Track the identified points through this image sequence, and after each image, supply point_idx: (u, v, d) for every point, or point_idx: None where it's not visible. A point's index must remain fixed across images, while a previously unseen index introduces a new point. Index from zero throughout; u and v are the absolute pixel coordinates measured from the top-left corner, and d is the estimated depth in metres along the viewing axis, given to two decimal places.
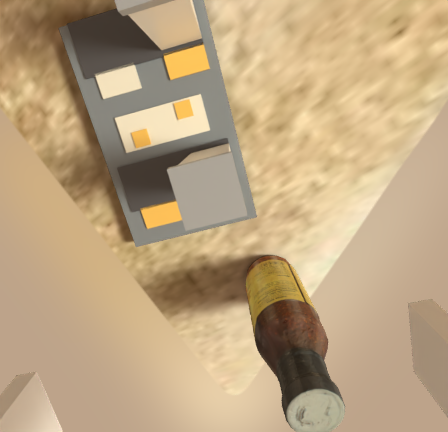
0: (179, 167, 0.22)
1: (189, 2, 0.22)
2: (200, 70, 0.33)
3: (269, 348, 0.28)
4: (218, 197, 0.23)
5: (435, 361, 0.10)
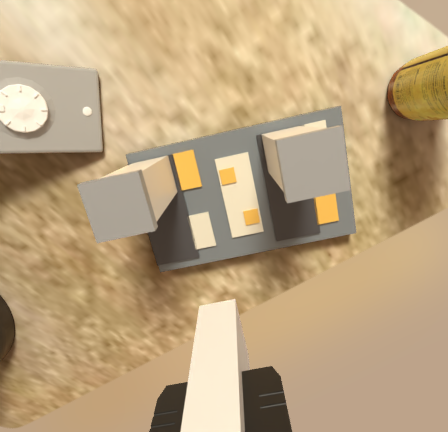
0: (286, 191, 0.24)
1: (145, 170, 0.26)
2: (194, 158, 0.36)
3: None
4: (319, 155, 0.23)
5: None
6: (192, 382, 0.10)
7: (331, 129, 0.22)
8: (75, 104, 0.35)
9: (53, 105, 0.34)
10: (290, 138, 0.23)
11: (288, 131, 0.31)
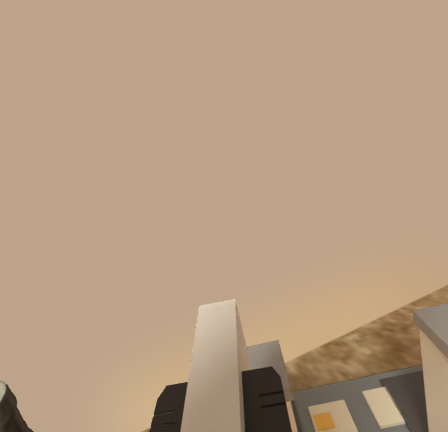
0: (279, 347, 0.23)
1: None
2: None
3: None
4: None
5: None
6: (192, 382, 0.10)
7: None
8: None
9: None
10: None
11: None
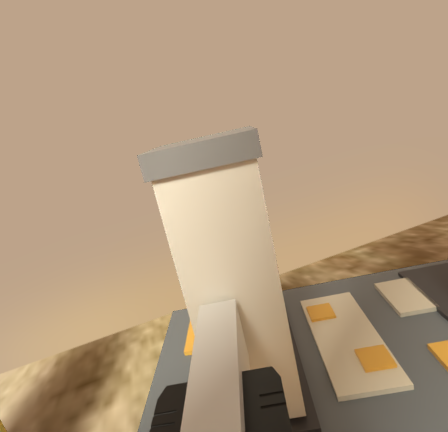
0: (249, 126, 0.15)
1: None
2: None
3: None
4: (188, 142, 0.14)
5: None
6: (192, 382, 0.10)
7: (157, 150, 0.12)
8: None
9: None
10: (231, 134, 0.12)
11: None
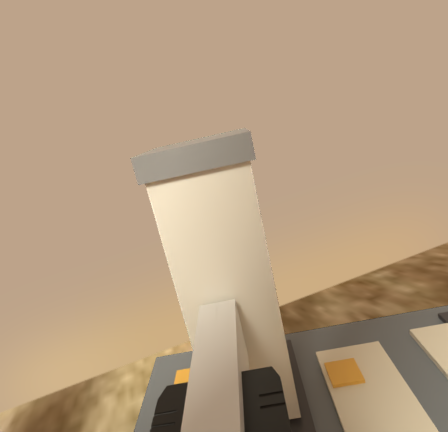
0: (243, 128, 0.15)
1: None
2: None
3: None
4: (182, 144, 0.14)
5: None
6: (192, 382, 0.10)
7: (150, 153, 0.12)
8: None
9: None
10: (224, 137, 0.12)
11: None
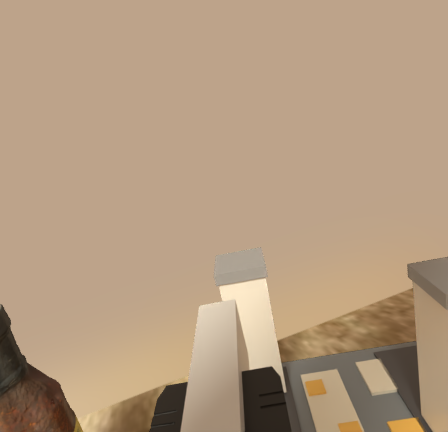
0: (260, 250, 0.32)
1: None
2: None
3: None
4: (233, 264, 0.30)
5: None
6: (192, 382, 0.10)
7: (222, 273, 0.29)
8: None
9: None
10: (254, 267, 0.28)
11: (256, 356, 0.31)
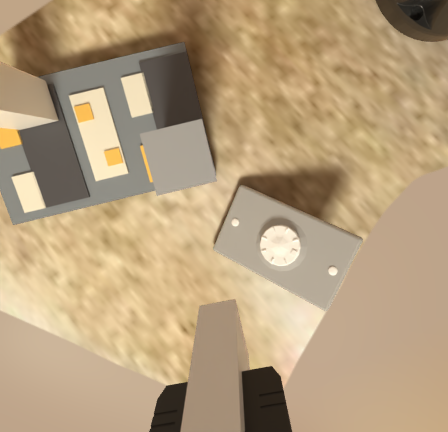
0: None
1: None
2: (148, 174, 0.37)
3: None
4: None
5: None
6: (192, 382, 0.10)
7: None
8: (240, 230, 0.39)
9: (257, 237, 0.38)
10: None
11: (16, 122, 0.31)
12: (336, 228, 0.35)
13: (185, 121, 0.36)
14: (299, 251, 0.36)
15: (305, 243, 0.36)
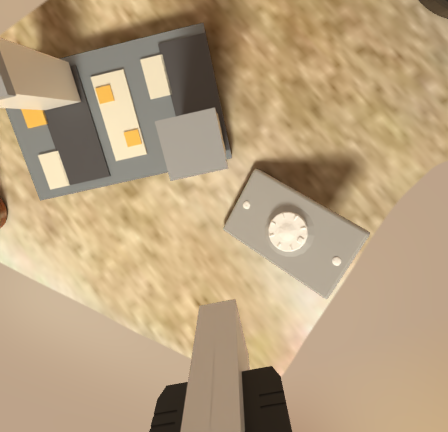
0: None
1: None
2: None
3: None
4: None
5: None
6: (192, 382, 0.10)
7: None
8: (251, 214, 0.40)
9: (266, 222, 0.39)
10: None
11: (41, 104, 0.32)
12: (344, 220, 0.36)
13: (202, 103, 0.37)
14: (306, 239, 0.37)
15: (312, 232, 0.37)
